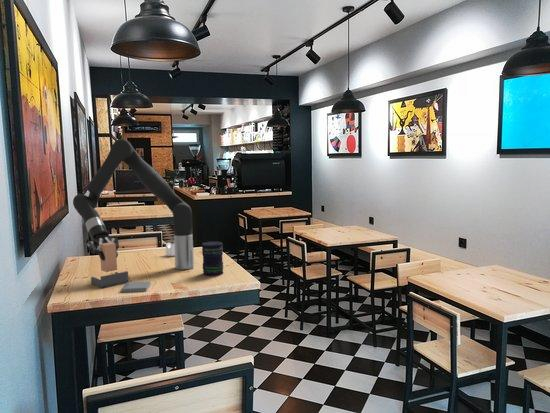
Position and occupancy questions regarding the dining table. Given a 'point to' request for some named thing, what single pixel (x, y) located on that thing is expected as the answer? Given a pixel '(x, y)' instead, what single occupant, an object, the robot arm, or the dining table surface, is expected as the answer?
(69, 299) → the dining table surface
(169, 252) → the bracket
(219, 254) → the storage jar
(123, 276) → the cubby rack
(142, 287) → the slate pad
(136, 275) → the dining table surface
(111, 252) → the terracotta block
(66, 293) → the dining table surface
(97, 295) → the dining table surface
